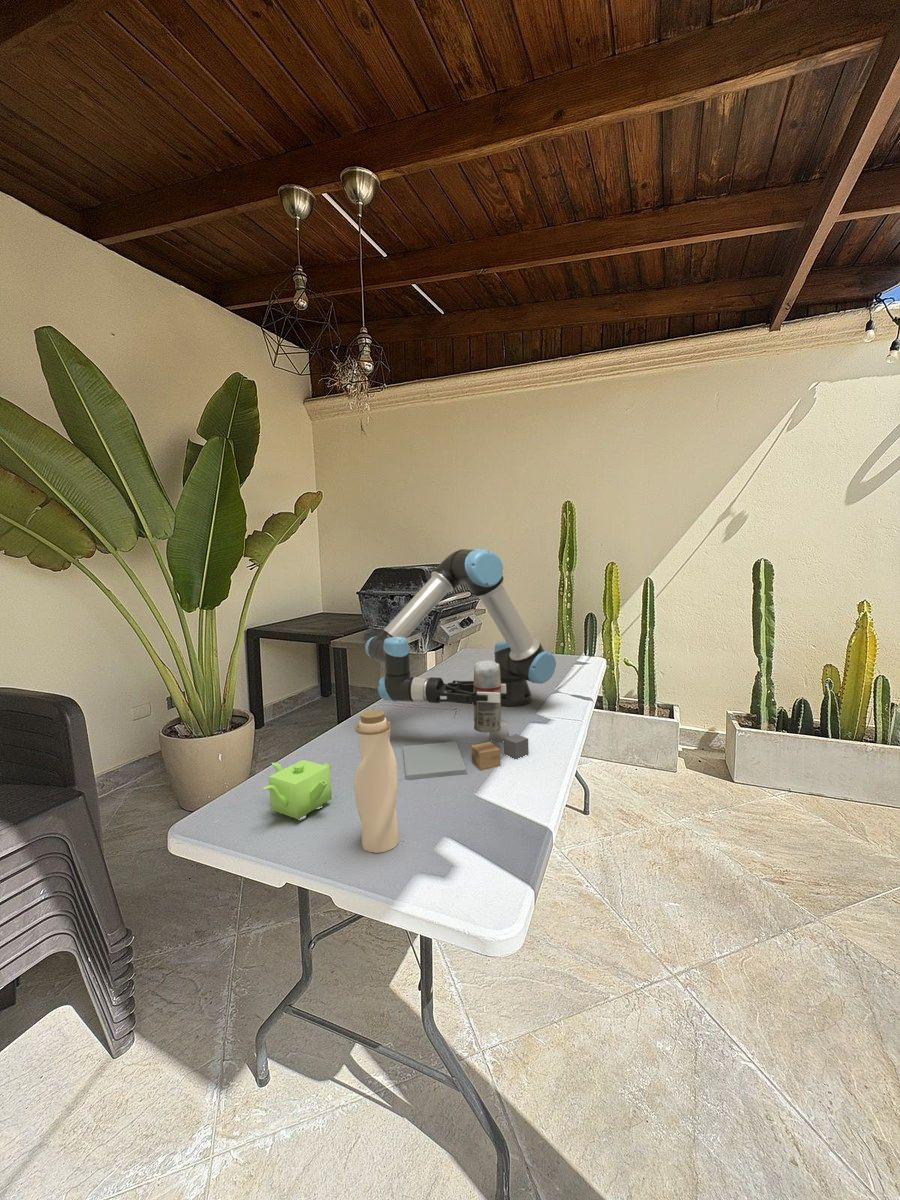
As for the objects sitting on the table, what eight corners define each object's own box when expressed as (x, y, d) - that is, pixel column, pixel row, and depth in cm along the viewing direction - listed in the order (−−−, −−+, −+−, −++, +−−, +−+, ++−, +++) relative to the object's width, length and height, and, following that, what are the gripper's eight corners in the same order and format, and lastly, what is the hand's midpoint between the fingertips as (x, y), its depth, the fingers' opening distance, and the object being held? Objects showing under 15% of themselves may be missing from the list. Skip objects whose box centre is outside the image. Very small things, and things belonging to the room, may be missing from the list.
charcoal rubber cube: (503, 754, 154) (503, 738, 153) (516, 750, 157) (515, 733, 156) (516, 760, 150) (515, 743, 149) (528, 755, 153) (528, 738, 152)
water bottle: (360, 828, 117) (352, 706, 114) (401, 825, 118) (394, 703, 115) (356, 856, 107) (347, 722, 104) (401, 852, 108) (393, 719, 105)
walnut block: (471, 762, 150) (471, 745, 149) (491, 758, 152) (490, 741, 151) (480, 770, 144) (479, 753, 143) (500, 766, 146) (499, 749, 145)
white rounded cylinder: (487, 736, 168) (487, 720, 168) (506, 734, 169) (505, 719, 168) (491, 743, 162) (491, 727, 162) (511, 741, 163) (510, 725, 162)
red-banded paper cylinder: (506, 725, 158) (504, 659, 156) (497, 735, 151) (494, 666, 149) (480, 722, 162) (477, 658, 160) (469, 731, 154) (466, 664, 152)
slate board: (403, 750, 160) (402, 746, 160) (455, 745, 162) (455, 741, 162) (406, 779, 140) (406, 775, 140) (466, 773, 142) (466, 769, 142)
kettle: (266, 831, 118) (262, 783, 117) (270, 801, 132) (266, 758, 131) (335, 819, 122) (332, 772, 121) (332, 791, 136) (329, 749, 134)
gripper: (440, 691, 171) (510, 694, 164) (417, 713, 151) (495, 718, 144) (438, 668, 170) (509, 671, 163) (415, 687, 150) (494, 691, 143)
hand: (502, 693), depth 154 cm, fingers closed on red-banded paper cylinder, 8 cm apart
